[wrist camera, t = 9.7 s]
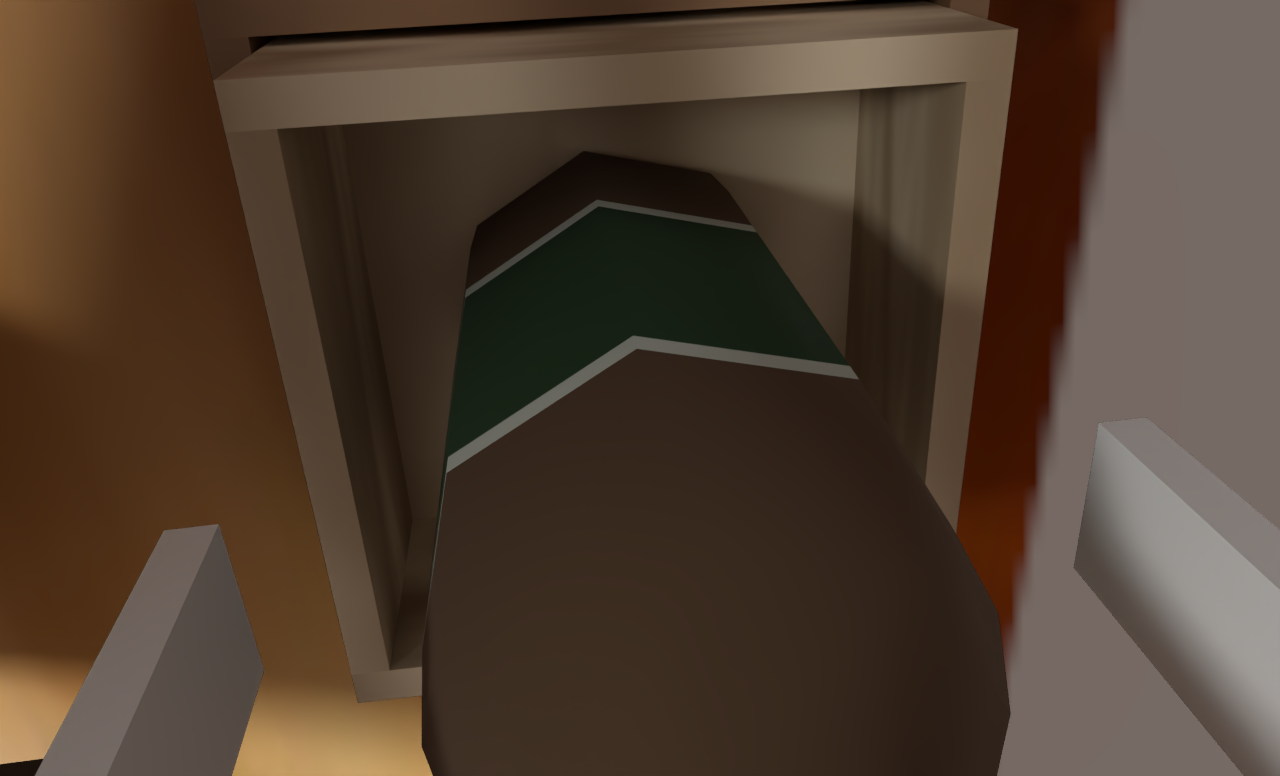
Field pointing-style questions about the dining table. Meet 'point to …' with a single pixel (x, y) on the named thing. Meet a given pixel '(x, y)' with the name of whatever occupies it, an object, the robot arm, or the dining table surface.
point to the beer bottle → (683, 516)
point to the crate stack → (536, 147)
